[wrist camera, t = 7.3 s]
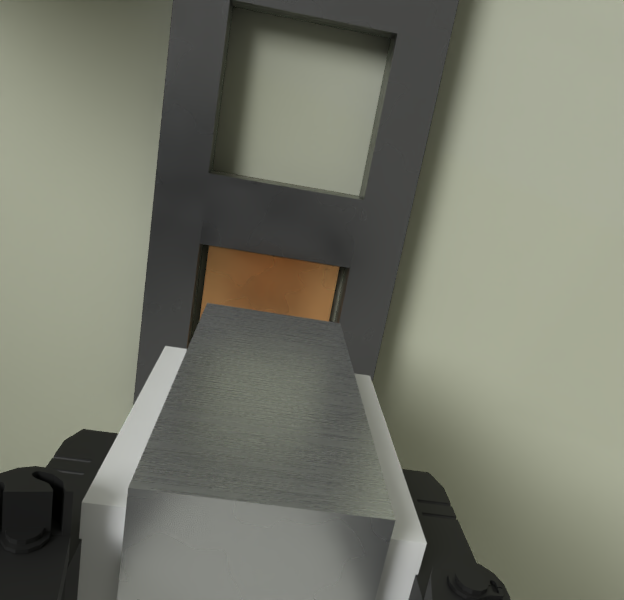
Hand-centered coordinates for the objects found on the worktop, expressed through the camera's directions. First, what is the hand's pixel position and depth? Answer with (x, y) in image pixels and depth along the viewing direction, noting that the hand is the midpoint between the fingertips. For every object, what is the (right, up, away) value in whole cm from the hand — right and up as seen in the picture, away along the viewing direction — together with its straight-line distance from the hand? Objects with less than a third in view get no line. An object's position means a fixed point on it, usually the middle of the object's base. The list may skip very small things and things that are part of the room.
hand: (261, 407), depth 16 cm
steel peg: (0, +1, +2) cm, 2 cm away
